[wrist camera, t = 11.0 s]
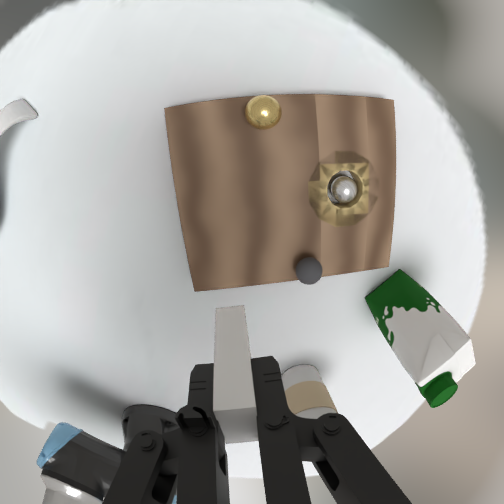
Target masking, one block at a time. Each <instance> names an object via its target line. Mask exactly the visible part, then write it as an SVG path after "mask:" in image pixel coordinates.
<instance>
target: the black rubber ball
mask: <svg viewBox="0 0 504 504" xmlns="http://www.w3.org/2000/svg"><path fill="white" fill-rule="evenodd" d="M322 271H323V270H322V266H321V264H320V262H319V261H318V260H316V259H315V258H312V257H307V258H304V259H302V260H300V261H299V262H298V264H297V266H296V276H297V278H298V279H299V281H301V282H302V283H304V284H314V283H316V282H317V281H318V280H319V279H320V278H321V276H322Z"/></svg>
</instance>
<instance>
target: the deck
mask: <svg viewBox="0 0 504 504" xmlns="http://www.w3.org/2000/svg"><path fill="white" fill-rule="evenodd" d="M267 96H270V97H272V98H274V99H275V100H277V102H278V103H279V104H280V106H281V110H282V116H281V119H280V121H279V123H278V124H277V125H276V126H274V127H273V128H271V129H267V130H260V129H256V128H254V127H253V126H251V125H250V124H249V123H248V121H247V119H246V117H245V108H246V105H247V103H248V102H249V101H250V100H251V99H252V98H254V97H256V96H249V97H237V98H227V99H219V100H211V101H203V102H197V103H190V104H184V105H178V106H173V107H168V108H164V109H165V118H166V127H167V135H168V143H169V151H170V158H171V165H172V172H173V179H174V186H175V192H176V198H177V204H178V210H179V216H180V221H181V227H182V232H183V238H184V243H185V248H186V253H187V258H188V263H189V268H190V273H191V277H192V282H193V287H194V291H195V292H196V291H207V290H216V289H226V288H235V287H244V286H253V285H261V284H270V283H278V282H286V281H294V280H299V279H298V278H297V276H296V266H297V264H298V262H299V261H300V260H302V259H304V258H307V257H312V258H315V259H316V260H318V261H319V262H320V264H321V266H322V270H323V271H322V276H321V277H324V276H331V275H338V274H345V273H352V272H359V271H365V270H372V269H378V268H385V267H389V260H390V251H391V243H392V233H393V221H394V207H395V187H396V130H395V111H394V100H391V99H383V98H373V97H362V96H348V95H325V94H287V95H267ZM345 170H347V171H349V172H350V173H351V175H352V177H353V179H354V182H355V183H356V185H357V194H356V196H355V198H354V199H353V200H352V201H350V202H347V203H332V202H331V201H330V199H329V198H328V196H327V185H328V183H329V181H330V179H331V177H332V176H333V175H335V174H336V173H338V172H339V171H345Z"/></svg>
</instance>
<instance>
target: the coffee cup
mask: <svg viewBox="0 0 504 504" xmlns="http://www.w3.org/2000/svg"><path fill="white" fill-rule="evenodd" d="M282 382H283V386H284V391H285V395H286V400H287V404H288V407H289V409H290V410H291V412H292V413H294V414H295V415H297V416H299V417H302V418H310V419H318V418H319V417H320V416H322V415H323V414H327V413H338V412H337V410H336V408H335V405H334V403H333V401H332V399H331V397H330V395H329V392H328V390H327V388H326V386H325V385H324V383H323V381H322V379H321V377H320V374H319V372H318V370H317V369H316V368H315V367H314V366H311V365H298V366H294V367H292V368H290V369H288V370H287V371H285V372H284V373H283V375H282Z"/></svg>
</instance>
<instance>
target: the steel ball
mask: <svg viewBox="0 0 504 504" xmlns="http://www.w3.org/2000/svg"><path fill="white" fill-rule="evenodd" d="M331 193H332V195H333V197H334V198H335V199H336V200H337V201H339V202H342V203H347V202H350V201H352V200H353V199H354V198H355V196H356V194H357V185H356V183H355V182H354V180H353V179H351V178H350V177H347V176H340V177H338V178H336V179H335V180H334V181H333V182H332V185H331Z"/></svg>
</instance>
